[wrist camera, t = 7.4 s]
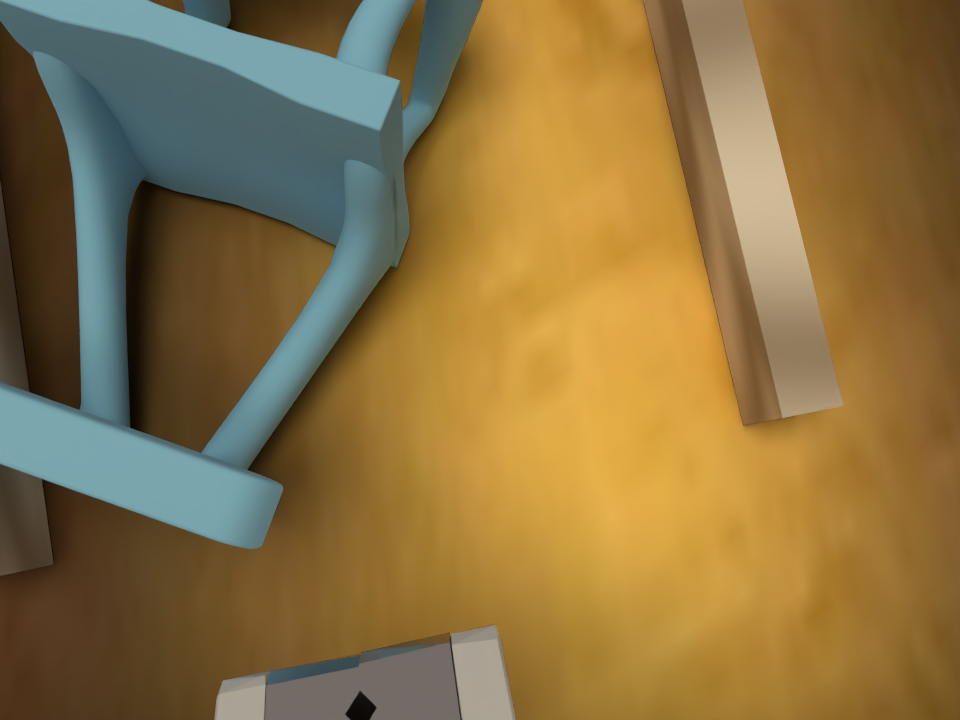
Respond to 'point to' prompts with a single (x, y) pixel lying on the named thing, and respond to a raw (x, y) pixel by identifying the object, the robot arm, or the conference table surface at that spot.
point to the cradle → (721, 228)
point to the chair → (228, 178)
